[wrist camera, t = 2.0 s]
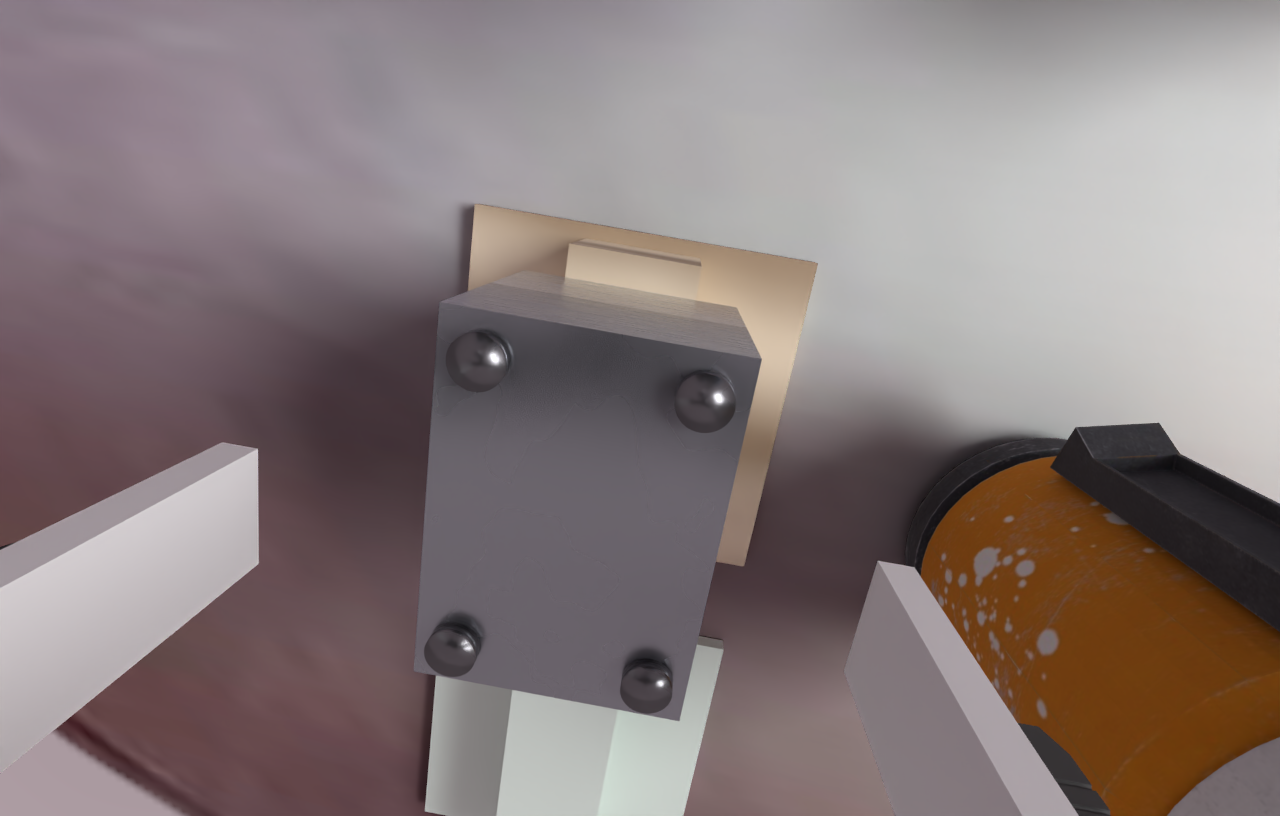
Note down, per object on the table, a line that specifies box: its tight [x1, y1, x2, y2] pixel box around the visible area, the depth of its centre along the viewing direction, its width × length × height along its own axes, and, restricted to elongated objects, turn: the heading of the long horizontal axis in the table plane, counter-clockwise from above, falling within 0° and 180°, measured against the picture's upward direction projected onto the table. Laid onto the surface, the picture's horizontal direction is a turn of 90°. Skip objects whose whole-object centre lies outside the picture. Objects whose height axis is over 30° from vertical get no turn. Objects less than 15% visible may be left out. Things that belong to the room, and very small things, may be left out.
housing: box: [414, 270, 762, 721], centre depth 17 cm, size 9×6×7 cm
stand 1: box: [468, 204, 818, 567], centre depth 23 cm, size 12×12×4 cm
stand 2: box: [425, 636, 724, 816], centre depth 28 cm, size 12×12×4 cm
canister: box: [905, 423, 1280, 816], centre depth 15 cm, size 9×11×20 cm
